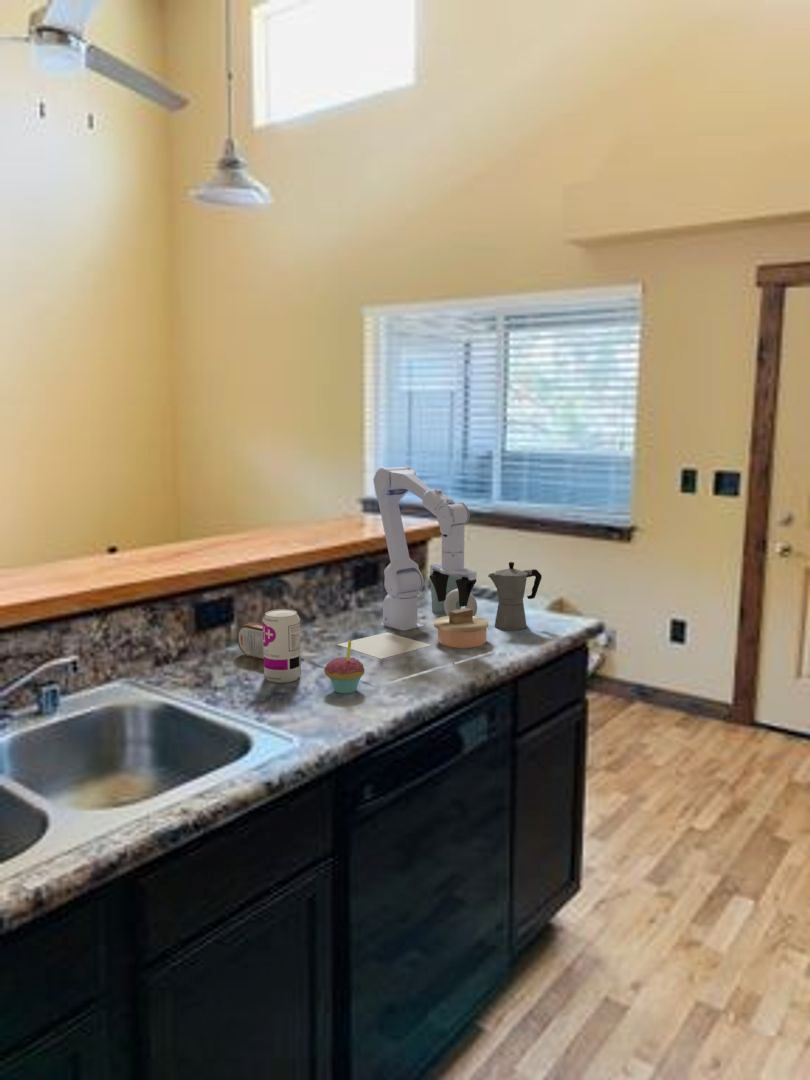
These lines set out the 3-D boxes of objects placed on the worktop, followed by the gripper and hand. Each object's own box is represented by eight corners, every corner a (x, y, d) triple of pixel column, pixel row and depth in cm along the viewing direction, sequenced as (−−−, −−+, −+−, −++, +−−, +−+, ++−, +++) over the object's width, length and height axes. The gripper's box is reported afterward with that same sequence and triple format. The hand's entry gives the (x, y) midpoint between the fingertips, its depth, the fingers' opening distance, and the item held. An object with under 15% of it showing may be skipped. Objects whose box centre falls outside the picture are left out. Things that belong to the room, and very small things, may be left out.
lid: (422, 624, 220) (422, 609, 219) (461, 615, 229) (461, 601, 228) (460, 635, 209) (460, 620, 209) (499, 625, 218) (500, 611, 218)
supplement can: (271, 686, 187) (269, 619, 185) (259, 675, 194) (257, 611, 192) (306, 680, 191) (304, 614, 188) (293, 670, 198) (291, 607, 196)
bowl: (429, 643, 220) (429, 624, 219) (460, 634, 229) (460, 616, 228) (464, 653, 212) (464, 633, 211) (495, 643, 220) (495, 624, 220)
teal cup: (431, 606, 260) (431, 567, 258) (464, 607, 259) (465, 568, 257) (429, 614, 250) (429, 574, 248) (463, 615, 249) (464, 574, 247)
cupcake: (372, 689, 185) (372, 635, 183) (343, 699, 178) (343, 643, 177) (345, 681, 190) (344, 628, 188) (316, 690, 184) (315, 636, 182)
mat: (336, 646, 217) (336, 644, 217) (387, 634, 229) (387, 632, 229) (381, 661, 205) (381, 658, 205) (431, 647, 216) (431, 645, 216)
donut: (479, 624, 239) (479, 589, 237) (474, 627, 236) (474, 591, 234) (447, 620, 244) (447, 585, 242) (441, 622, 241) (441, 588, 239)
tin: (289, 662, 204) (288, 628, 203) (279, 665, 202) (278, 631, 201) (245, 652, 213) (243, 619, 212) (235, 655, 211) (234, 621, 209)
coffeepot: (493, 632, 231) (494, 566, 228) (482, 623, 240) (483, 560, 237) (547, 628, 234) (548, 563, 231) (534, 620, 243) (535, 557, 241)
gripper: (421, 549, 220) (421, 601, 222) (463, 556, 209) (462, 611, 211) (440, 546, 224) (440, 596, 226) (482, 553, 214) (481, 606, 216)
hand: (452, 603), depth 219 cm, fingers open, 7 cm apart
